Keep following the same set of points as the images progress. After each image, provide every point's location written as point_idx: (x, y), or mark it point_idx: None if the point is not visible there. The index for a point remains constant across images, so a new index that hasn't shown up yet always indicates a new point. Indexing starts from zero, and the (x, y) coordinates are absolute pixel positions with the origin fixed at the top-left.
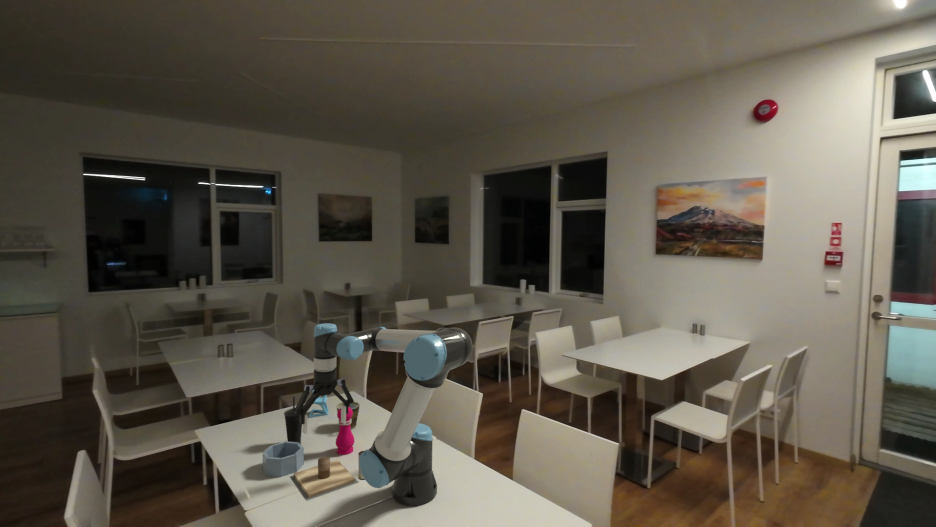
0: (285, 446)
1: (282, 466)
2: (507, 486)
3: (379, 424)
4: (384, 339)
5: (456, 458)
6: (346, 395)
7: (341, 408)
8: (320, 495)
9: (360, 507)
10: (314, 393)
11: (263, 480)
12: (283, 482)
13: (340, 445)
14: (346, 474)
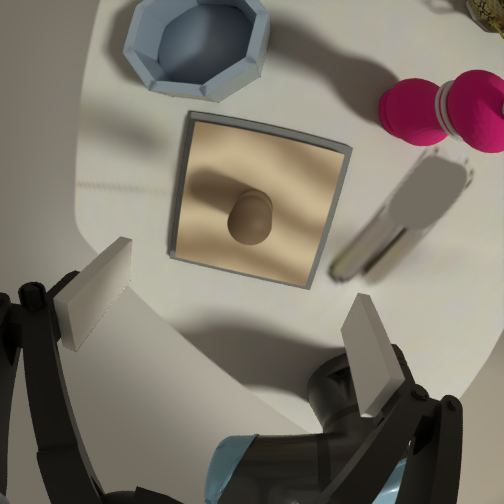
0: None
1: (164, 93)
2: None
3: None
4: None
5: (484, 349)
6: (416, 468)
7: (378, 359)
8: (204, 265)
9: (249, 352)
10: (64, 479)
11: (136, 74)
12: (168, 122)
13: (391, 122)
14: (304, 252)
